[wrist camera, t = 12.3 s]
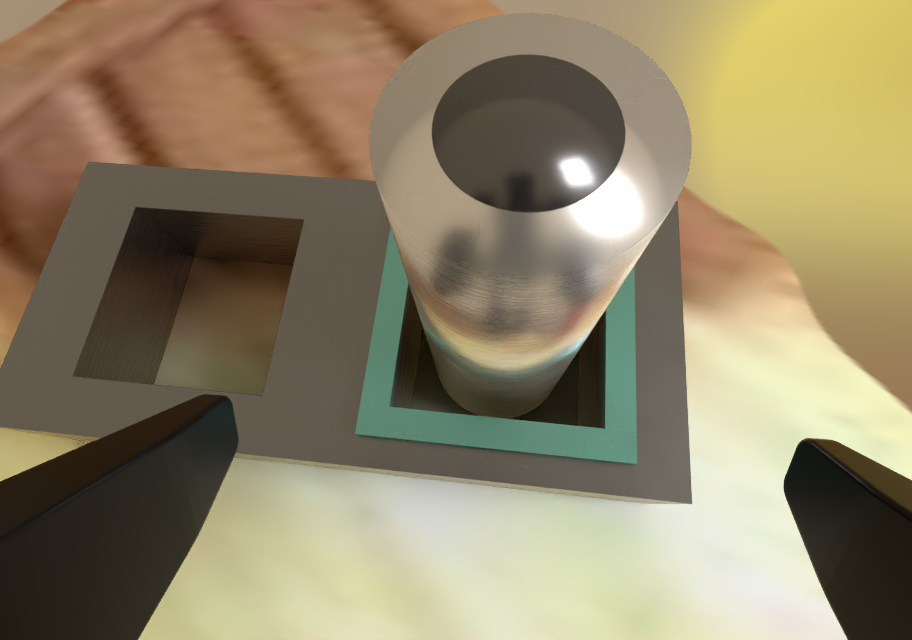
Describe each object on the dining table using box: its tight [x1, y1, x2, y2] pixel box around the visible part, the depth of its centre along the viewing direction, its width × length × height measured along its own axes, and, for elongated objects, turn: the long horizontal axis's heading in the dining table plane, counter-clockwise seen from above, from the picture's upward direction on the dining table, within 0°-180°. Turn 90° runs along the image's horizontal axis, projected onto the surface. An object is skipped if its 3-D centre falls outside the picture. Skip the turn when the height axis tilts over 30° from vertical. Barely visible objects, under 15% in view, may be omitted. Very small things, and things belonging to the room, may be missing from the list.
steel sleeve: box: [369, 13, 691, 419], centre depth 14 cm, size 5×5×13 cm
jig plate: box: [0, 162, 692, 504], centre depth 18 cm, size 22×10×4 cm, turn 84°
